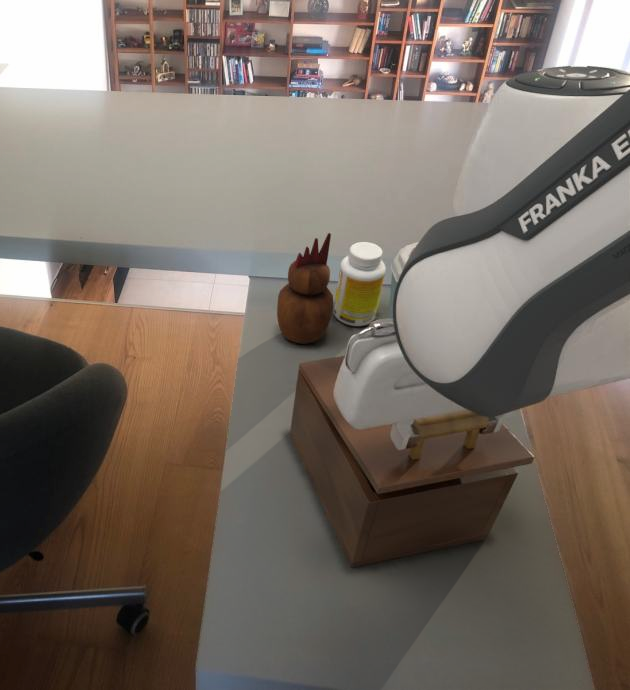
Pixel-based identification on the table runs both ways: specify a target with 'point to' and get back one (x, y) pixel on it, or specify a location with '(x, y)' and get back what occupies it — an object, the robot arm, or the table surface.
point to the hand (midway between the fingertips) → (444, 435)
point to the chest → (389, 496)
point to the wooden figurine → (306, 296)
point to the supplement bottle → (359, 284)
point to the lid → (432, 447)
